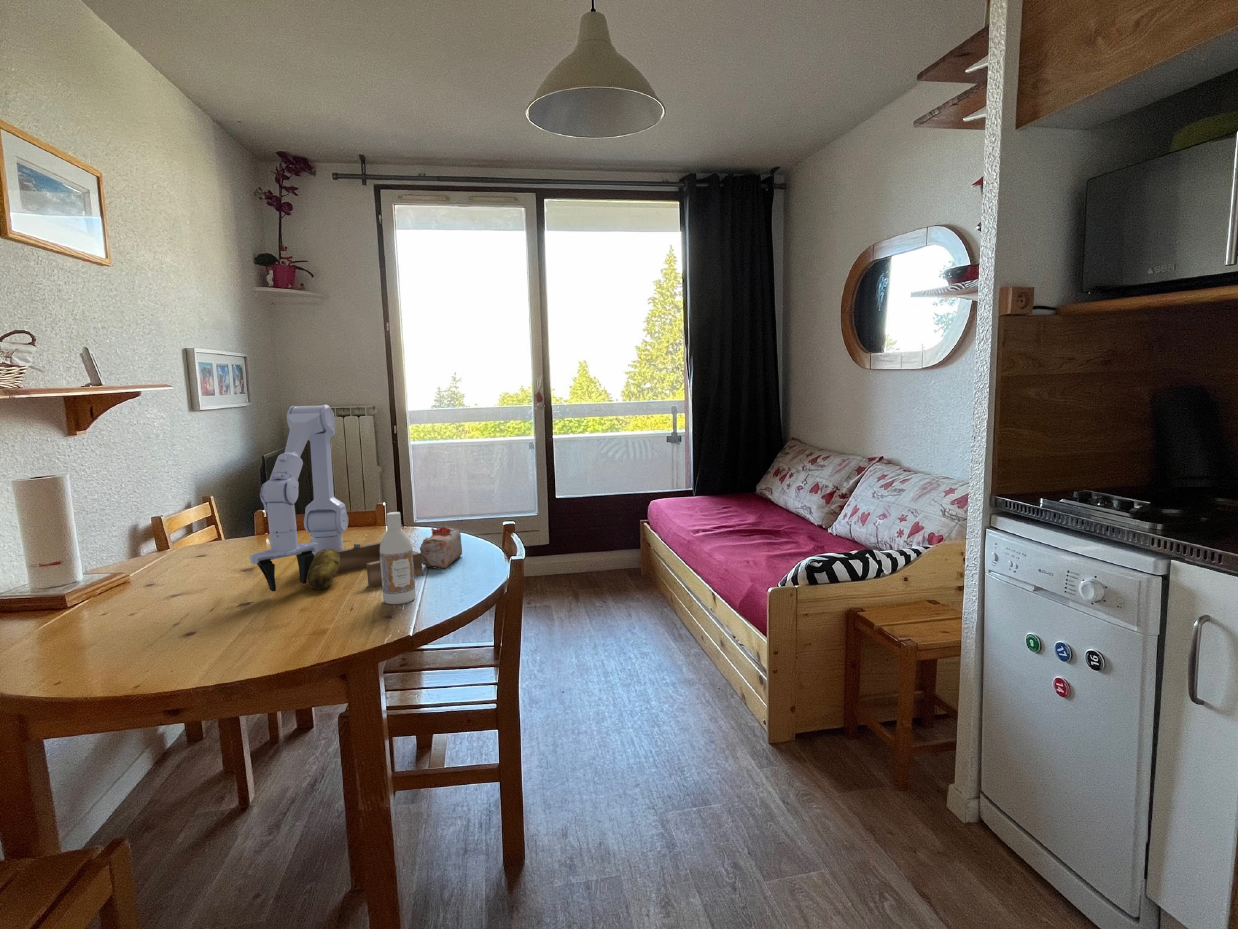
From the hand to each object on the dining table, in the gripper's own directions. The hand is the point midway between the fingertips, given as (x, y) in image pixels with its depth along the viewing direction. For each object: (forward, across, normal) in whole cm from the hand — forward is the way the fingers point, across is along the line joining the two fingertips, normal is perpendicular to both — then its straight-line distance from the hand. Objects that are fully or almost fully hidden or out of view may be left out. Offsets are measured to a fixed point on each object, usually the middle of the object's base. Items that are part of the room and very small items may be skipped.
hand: (288, 586), depth 153 cm
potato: (+2, +8, 0) cm, 9 cm away
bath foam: (+2, +14, -26) cm, 30 cm away
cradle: (+2, +22, -1) cm, 22 cm away
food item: (+2, +38, -6) cm, 38 cm away
